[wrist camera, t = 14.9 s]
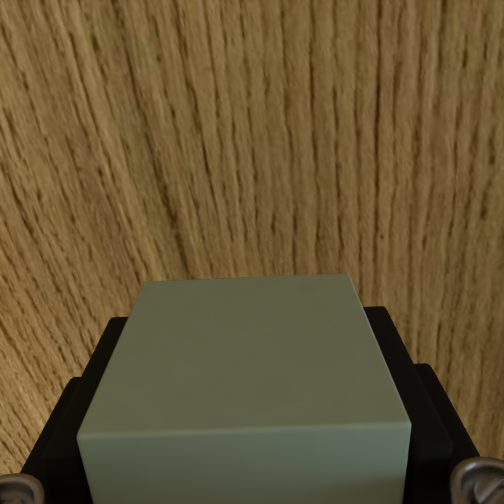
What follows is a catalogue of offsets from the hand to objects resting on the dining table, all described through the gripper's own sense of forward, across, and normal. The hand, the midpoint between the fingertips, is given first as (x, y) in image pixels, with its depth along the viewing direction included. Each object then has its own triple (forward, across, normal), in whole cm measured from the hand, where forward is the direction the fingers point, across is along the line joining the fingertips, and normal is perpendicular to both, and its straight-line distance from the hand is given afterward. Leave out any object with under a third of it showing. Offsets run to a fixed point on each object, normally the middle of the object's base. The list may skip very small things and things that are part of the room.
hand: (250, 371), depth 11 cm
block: (0, 0, 0) cm, 0 cm away
